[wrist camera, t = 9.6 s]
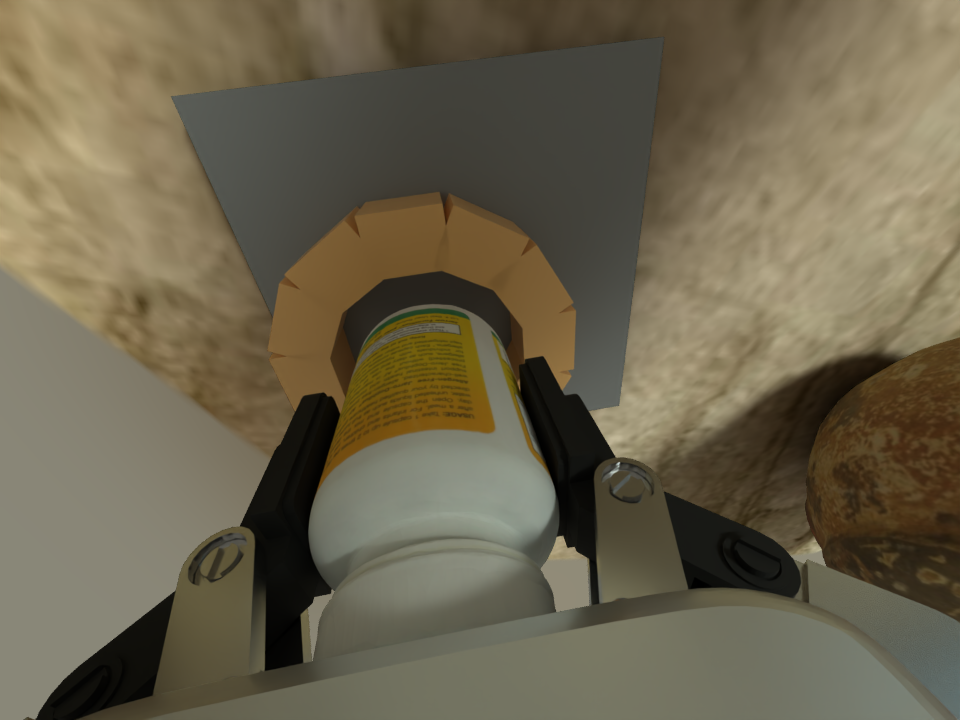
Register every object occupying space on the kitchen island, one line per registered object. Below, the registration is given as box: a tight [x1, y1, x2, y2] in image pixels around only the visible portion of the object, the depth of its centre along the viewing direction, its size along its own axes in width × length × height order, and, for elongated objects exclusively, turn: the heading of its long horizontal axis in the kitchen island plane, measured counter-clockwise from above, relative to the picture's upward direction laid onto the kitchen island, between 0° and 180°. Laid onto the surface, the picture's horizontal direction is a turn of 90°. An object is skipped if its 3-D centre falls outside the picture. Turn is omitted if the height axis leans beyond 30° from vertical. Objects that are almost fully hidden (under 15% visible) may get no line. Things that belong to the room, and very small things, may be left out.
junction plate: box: [171, 37, 664, 411], centre depth 16 cm, size 15×15×1 cm
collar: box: [267, 192, 576, 414], centre depth 15 cm, size 11×11×2 cm
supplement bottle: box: [308, 304, 559, 661], centre depth 10 cm, size 5×5×10 cm
